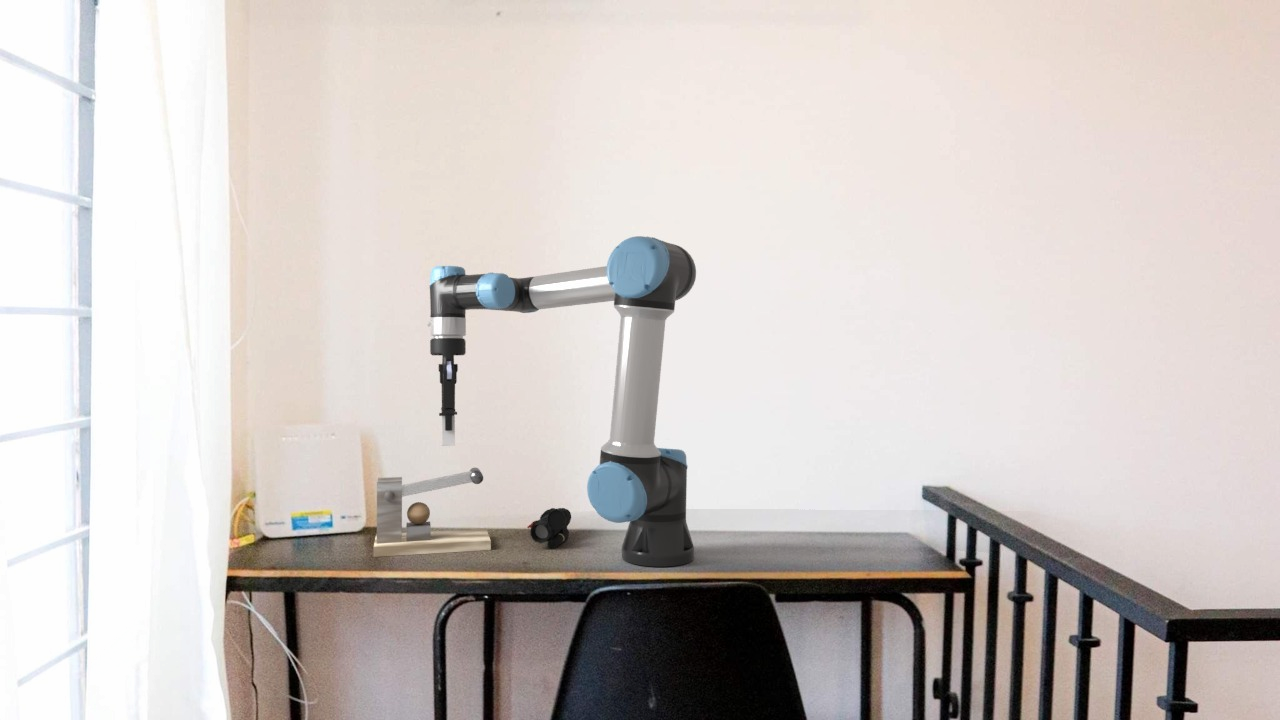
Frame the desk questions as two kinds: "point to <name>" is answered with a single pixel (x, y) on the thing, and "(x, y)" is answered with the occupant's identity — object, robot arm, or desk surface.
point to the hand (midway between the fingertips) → (448, 445)
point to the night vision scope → (551, 527)
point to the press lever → (443, 482)
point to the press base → (437, 543)
